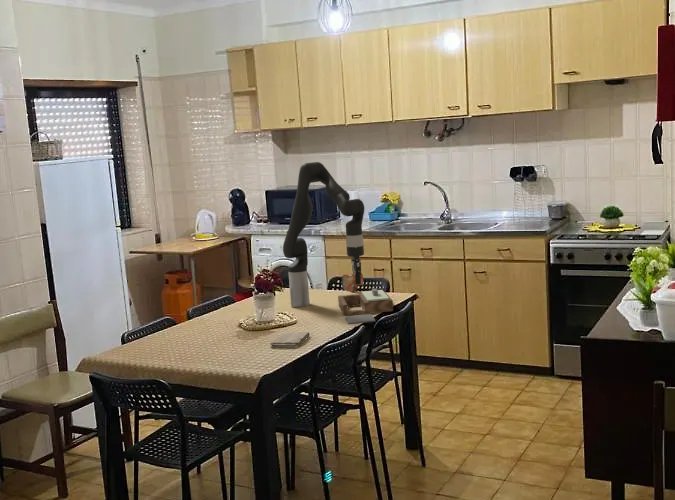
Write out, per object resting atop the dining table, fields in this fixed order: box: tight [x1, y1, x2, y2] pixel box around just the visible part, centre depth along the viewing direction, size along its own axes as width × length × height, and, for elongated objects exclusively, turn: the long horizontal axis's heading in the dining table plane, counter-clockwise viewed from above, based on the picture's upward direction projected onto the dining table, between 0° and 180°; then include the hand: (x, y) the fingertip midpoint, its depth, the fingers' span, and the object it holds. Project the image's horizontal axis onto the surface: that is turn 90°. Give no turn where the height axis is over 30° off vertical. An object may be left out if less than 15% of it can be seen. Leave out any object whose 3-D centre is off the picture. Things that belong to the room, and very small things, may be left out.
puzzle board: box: [337, 290, 394, 317], centre depth 363 cm, size 23×21×5 cm
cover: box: [361, 288, 390, 302], centre depth 363 cm, size 10×19×3 cm, turn 6°
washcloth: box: [270, 331, 310, 349], centre depth 313 cm, size 12×18×3 cm, turn 166°
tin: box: [341, 274, 358, 293], centre depth 406 cm, size 15×3×8 cm, turn 25°
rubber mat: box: [344, 313, 376, 325], centre depth 342 cm, size 12×12×1 cm
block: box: [350, 272, 364, 287], centre depth 339 cm, size 4×4×4 cm
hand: (357, 282), depth 340 cm, fingers closed on block, 4 cm apart
